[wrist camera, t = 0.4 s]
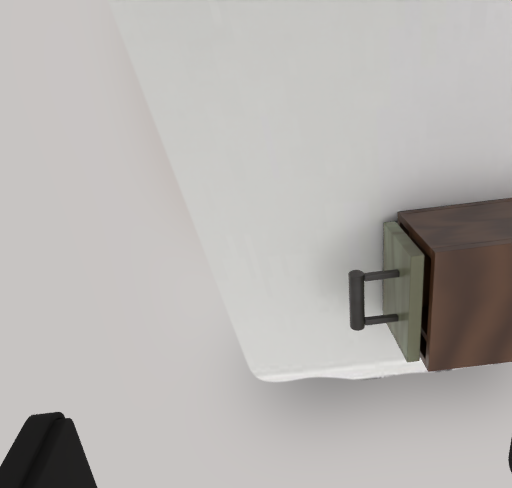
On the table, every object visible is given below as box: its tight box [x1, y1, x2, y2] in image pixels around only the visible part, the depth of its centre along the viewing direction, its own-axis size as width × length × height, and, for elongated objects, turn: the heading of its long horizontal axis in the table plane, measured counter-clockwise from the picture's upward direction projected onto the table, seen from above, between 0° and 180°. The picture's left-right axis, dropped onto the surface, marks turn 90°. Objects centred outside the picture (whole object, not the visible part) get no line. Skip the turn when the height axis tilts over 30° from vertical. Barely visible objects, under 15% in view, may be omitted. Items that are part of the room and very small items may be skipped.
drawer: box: [349, 221, 431, 362], centre depth 44 cm, size 18×11×8 cm, turn 96°
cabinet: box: [397, 198, 512, 371], centre depth 44 cm, size 15×13×10 cm
